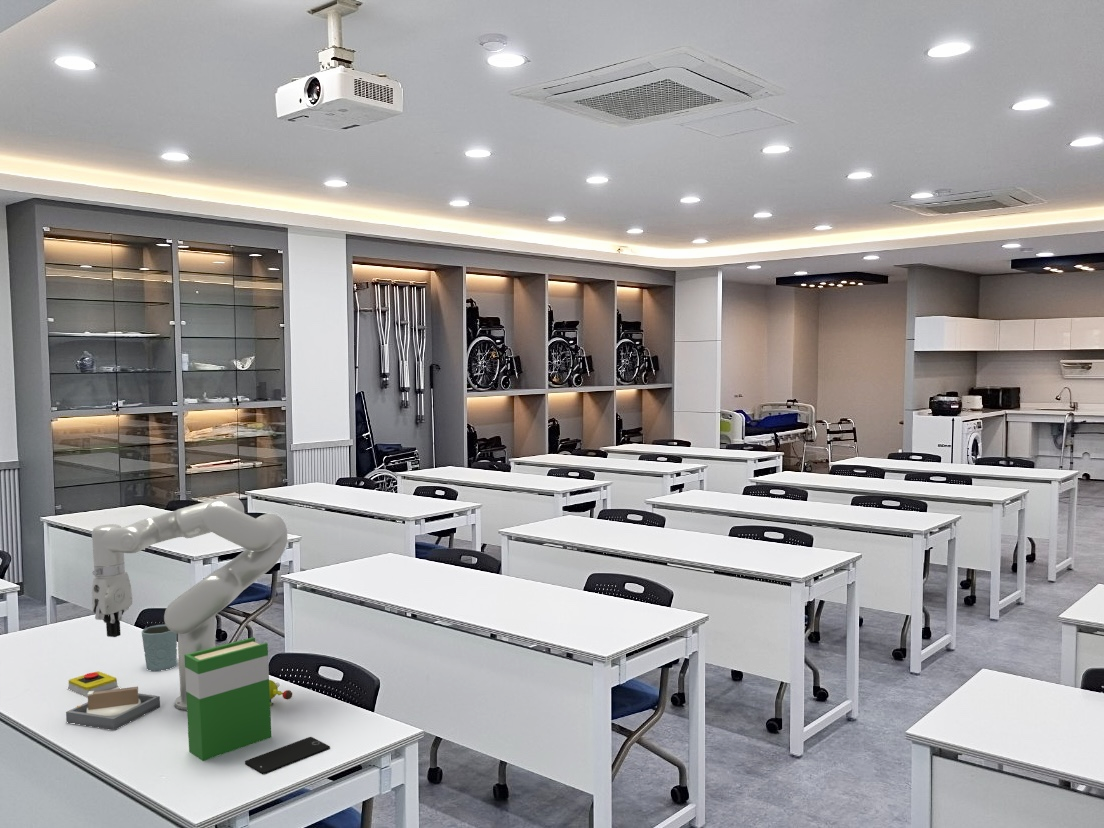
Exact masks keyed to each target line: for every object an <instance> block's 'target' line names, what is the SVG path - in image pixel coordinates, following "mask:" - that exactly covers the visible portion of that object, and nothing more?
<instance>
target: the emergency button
mask: <svg viewBox="0 0 1104 828" xmlns="http://www.w3.org/2000/svg"><path fill="white" fill-rule="evenodd" d="M67 687H68V689H70V690H72V691H71V692H73V691H74V692H73V693H75V692H76V693H75V694H78V695H80V696H82V695H83V697H85V698H87V699H88V695H87V694H88V692H89V691H94V692H98V691H106V690H114V689H120V688H121V689H122V687H121V686H119V685H118V679H117V677H115V676H112V675H110V674H107V673H104V672H101V671H94V672H93V671H92V672H89V673H86V674H83V675H80V676H77V677H74V678H73V677H72V678H70V679H69V680H68V686H67ZM119 687H120V688H119ZM68 689H67V690H68ZM70 690H69V691H70Z"/></svg>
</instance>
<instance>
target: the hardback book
mask: <svg viewBox="0 0 1104 828" xmlns="http://www.w3.org/2000/svg"><path fill="white" fill-rule="evenodd" d="M268 648H269V645H268V643H267V642H263V643H258V642H256V637H253V636H252V637H249V638H246V639H243V640H242V639H241V640H238V641H234V642H233V641H232V642H230V643H226V644H221V645H217V646H215V647H213V648H209V649H205V650H201V651H197V652H193V653H190V654H186V655H184V657H185V677H186V697H187V710H186V712H187V713H186V716H187V731H188V732H187V733H188V752H189V753H191V755H193V756H195V757H196V758H197V759H198V760H200V761H202V762H204V761H207V760H211V759H214V758H216V757H219V756H221V755H224V754H228V753H230V752H234V751H235V750H239V749H242V748H245V747H248V746H251V745H253V744H257V743H259V742H262V741H265V740H269V739H272V716H271V715H272V714H271V706H270V689H269V680H270V671H269V669H270V668H269V649H268Z"/></svg>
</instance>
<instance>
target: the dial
mask: <svg viewBox="0 0 1104 828" xmlns="http://www.w3.org/2000/svg"><path fill="white" fill-rule="evenodd" d="M138 693H139V686H131V687H123V688H122V687H121V689H114V690H106V691H98V692H94V691H89V692H88V694H87V695H88V698H87V702H88V708H87V713H89V714H96V715H103V716H110V717H115V716H117V715H119V714H121V713H123V712H125V711H127V710H129V709H131V708H133V707H135V706H137V705H139V704H141V701H140V699H139V696H138Z"/></svg>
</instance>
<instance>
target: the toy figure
mask: <svg viewBox="0 0 1104 828" xmlns="http://www.w3.org/2000/svg"><path fill="white" fill-rule="evenodd" d="M280 686H281V684H280V683H279V682H275V681H274V680H271V679H269V689H270V707H271V706H273V705H274V704H275V703H274V702H272V699H274V698H275V697H276V696H281V695H282V698H283V699H284V700H290V699H292V698H293V692H292V691H291V690H289V689H287V690H283V692H282V690H279V689H278V688H279V687H280Z"/></svg>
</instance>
